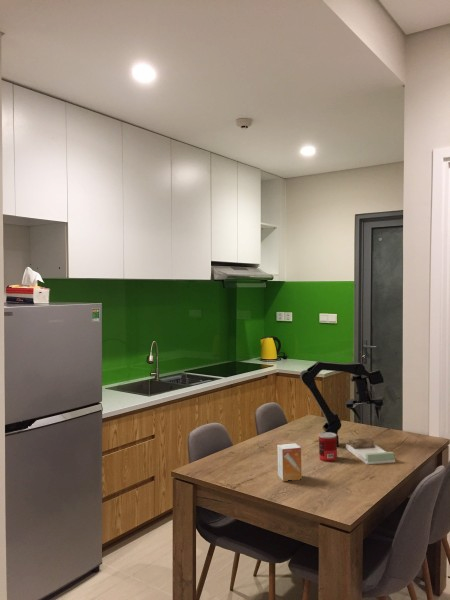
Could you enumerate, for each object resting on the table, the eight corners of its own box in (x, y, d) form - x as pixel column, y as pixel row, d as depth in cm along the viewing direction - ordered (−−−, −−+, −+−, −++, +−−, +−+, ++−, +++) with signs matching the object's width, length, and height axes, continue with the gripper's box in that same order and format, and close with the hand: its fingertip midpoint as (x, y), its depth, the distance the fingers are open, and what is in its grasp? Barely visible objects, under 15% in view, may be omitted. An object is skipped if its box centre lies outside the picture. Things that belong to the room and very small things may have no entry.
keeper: (352, 448, 235) (352, 442, 235) (349, 446, 239) (349, 439, 239) (373, 447, 237) (373, 440, 237) (370, 444, 241) (369, 438, 241)
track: (366, 464, 217) (366, 455, 217) (345, 448, 240) (345, 439, 240) (395, 462, 219) (395, 452, 219) (371, 446, 242) (371, 437, 242)
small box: (282, 482, 199) (282, 449, 199) (277, 476, 205) (276, 444, 205) (302, 479, 201) (301, 447, 201) (296, 474, 207) (295, 442, 207)
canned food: (340, 458, 225) (339, 434, 225) (331, 463, 220) (330, 438, 220) (325, 455, 231) (324, 431, 231) (316, 459, 225) (315, 435, 225)
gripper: (386, 381, 246) (393, 413, 246) (350, 385, 257) (357, 415, 257) (379, 388, 237) (386, 420, 237) (342, 391, 248) (349, 422, 248)
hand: (369, 419), depth 245 cm, fingers open, 9 cm apart
